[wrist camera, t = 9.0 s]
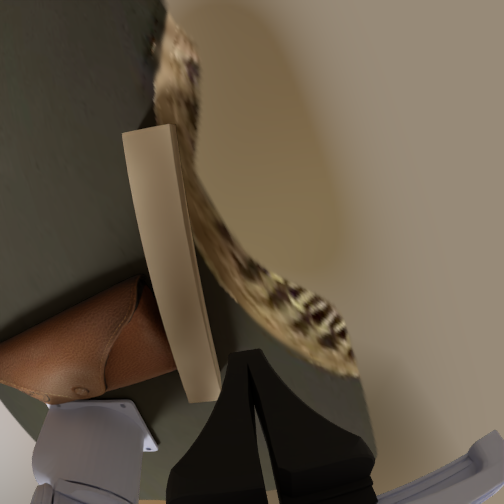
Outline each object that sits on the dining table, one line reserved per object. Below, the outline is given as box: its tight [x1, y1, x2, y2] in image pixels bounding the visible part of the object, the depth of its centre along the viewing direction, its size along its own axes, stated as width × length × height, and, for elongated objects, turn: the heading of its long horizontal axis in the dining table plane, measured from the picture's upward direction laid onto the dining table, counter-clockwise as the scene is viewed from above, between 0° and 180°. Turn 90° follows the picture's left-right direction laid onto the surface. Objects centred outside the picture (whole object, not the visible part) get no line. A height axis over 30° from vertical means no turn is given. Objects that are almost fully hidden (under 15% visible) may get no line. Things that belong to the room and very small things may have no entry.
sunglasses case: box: [0, 274, 177, 405], centre depth 20 cm, size 18×7×7 cm, turn 114°
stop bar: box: [122, 124, 222, 403], centre depth 19 cm, size 2×18×3 cm, turn 6°
